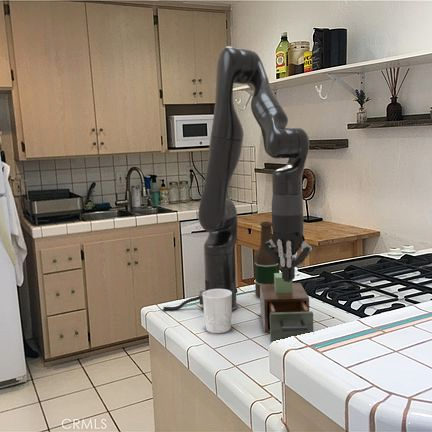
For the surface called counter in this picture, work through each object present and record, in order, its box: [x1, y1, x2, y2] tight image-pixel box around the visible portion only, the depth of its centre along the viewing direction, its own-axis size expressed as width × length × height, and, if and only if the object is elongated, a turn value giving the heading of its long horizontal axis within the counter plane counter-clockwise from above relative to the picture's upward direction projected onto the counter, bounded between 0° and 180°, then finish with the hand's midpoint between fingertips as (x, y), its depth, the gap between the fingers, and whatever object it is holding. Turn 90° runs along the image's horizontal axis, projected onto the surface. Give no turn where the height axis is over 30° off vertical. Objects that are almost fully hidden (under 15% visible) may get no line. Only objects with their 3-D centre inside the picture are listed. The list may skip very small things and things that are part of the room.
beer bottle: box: [254, 221, 280, 299], centre depth 160 cm, size 8×8×24 cm
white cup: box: [202, 289, 233, 334], centre depth 135 cm, size 8×8×10 cm
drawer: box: [268, 301, 314, 343], centre depth 126 cm, size 17×10×7 cm, turn 179°
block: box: [274, 272, 293, 293], centre depth 136 cm, size 4×4×4 cm
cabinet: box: [259, 282, 310, 334], centre depth 137 cm, size 14×12×9 cm
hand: (288, 281), depth 124 cm, fingers closed
